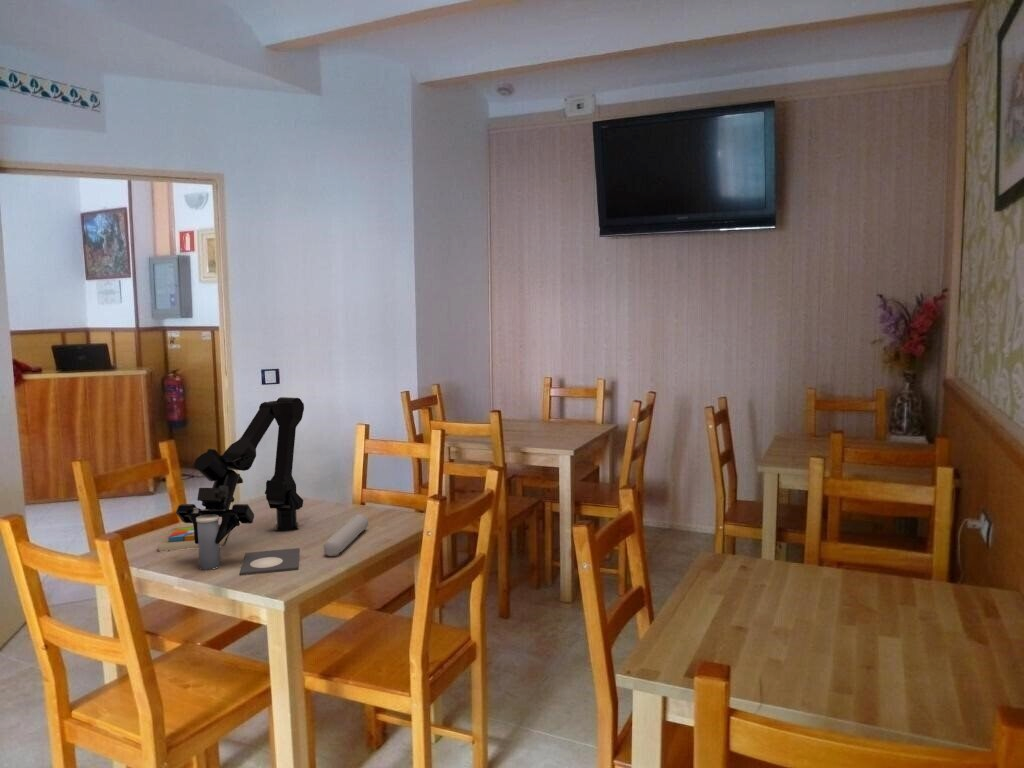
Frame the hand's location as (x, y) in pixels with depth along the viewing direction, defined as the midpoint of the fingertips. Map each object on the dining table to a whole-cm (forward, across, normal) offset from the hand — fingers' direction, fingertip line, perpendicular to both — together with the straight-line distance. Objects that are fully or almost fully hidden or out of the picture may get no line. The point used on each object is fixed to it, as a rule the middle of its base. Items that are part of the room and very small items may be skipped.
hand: (206, 543), depth 189 cm
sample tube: (+4, 0, +6) cm, 7 cm away
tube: (-10, +30, +20) cm, 37 cm away
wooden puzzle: (-12, -15, +22) cm, 29 cm away
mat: (+1, +15, +8) cm, 17 cm away
